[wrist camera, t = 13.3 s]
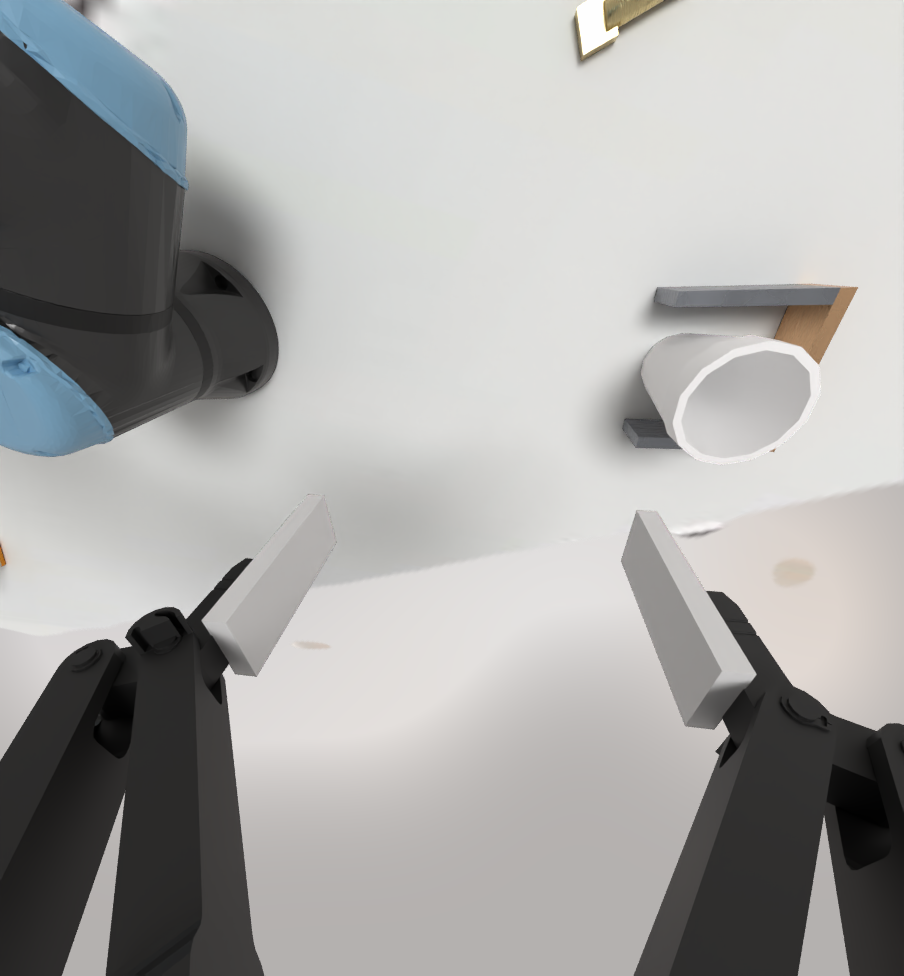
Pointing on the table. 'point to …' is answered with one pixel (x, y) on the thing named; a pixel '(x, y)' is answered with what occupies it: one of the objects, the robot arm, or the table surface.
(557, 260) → the table surface
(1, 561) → the supplement box
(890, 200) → the table surface
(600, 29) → the brass key
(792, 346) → the foam cup
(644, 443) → the channel
